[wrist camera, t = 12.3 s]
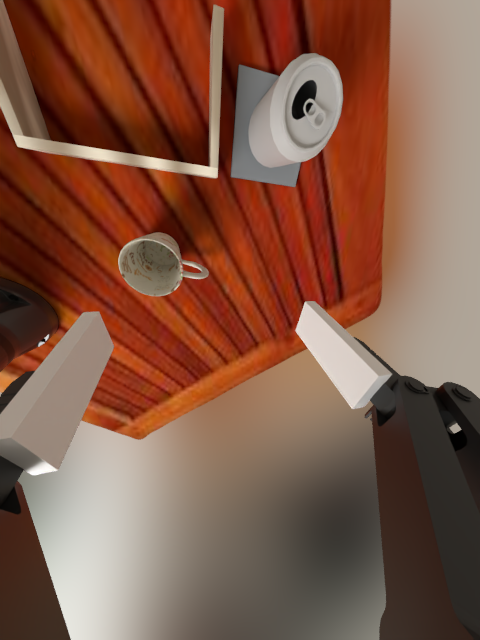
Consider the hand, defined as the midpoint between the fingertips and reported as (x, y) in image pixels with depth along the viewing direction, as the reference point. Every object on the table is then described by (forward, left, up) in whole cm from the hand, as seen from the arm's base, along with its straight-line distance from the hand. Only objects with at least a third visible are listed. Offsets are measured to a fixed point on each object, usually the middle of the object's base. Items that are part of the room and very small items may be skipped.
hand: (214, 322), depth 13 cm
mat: (+10, +15, -27) cm, 32 cm away
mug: (-5, -3, -27) cm, 28 cm away
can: (+10, +15, -26) cm, 32 cm away
